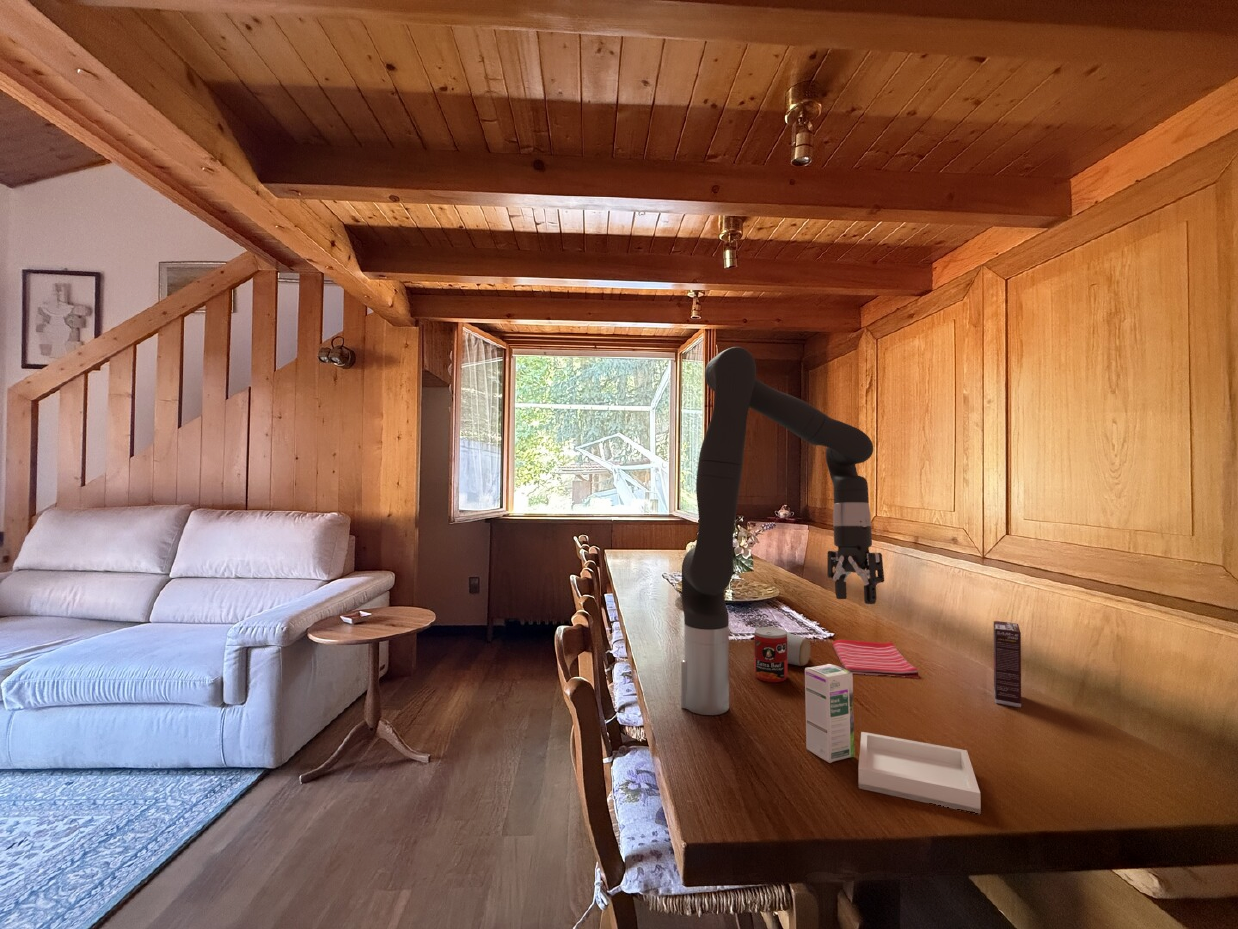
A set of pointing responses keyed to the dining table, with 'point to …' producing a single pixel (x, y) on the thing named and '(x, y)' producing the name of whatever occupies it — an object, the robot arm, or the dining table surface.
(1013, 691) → the supplement box
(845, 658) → the dish towel
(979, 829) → the dining table surface
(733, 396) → the robot arm
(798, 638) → the ceramic mug
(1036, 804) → the dining table surface
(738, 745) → the dining table surface
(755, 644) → the canned food
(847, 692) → the syrup box
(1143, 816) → the dining table surface
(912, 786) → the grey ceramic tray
